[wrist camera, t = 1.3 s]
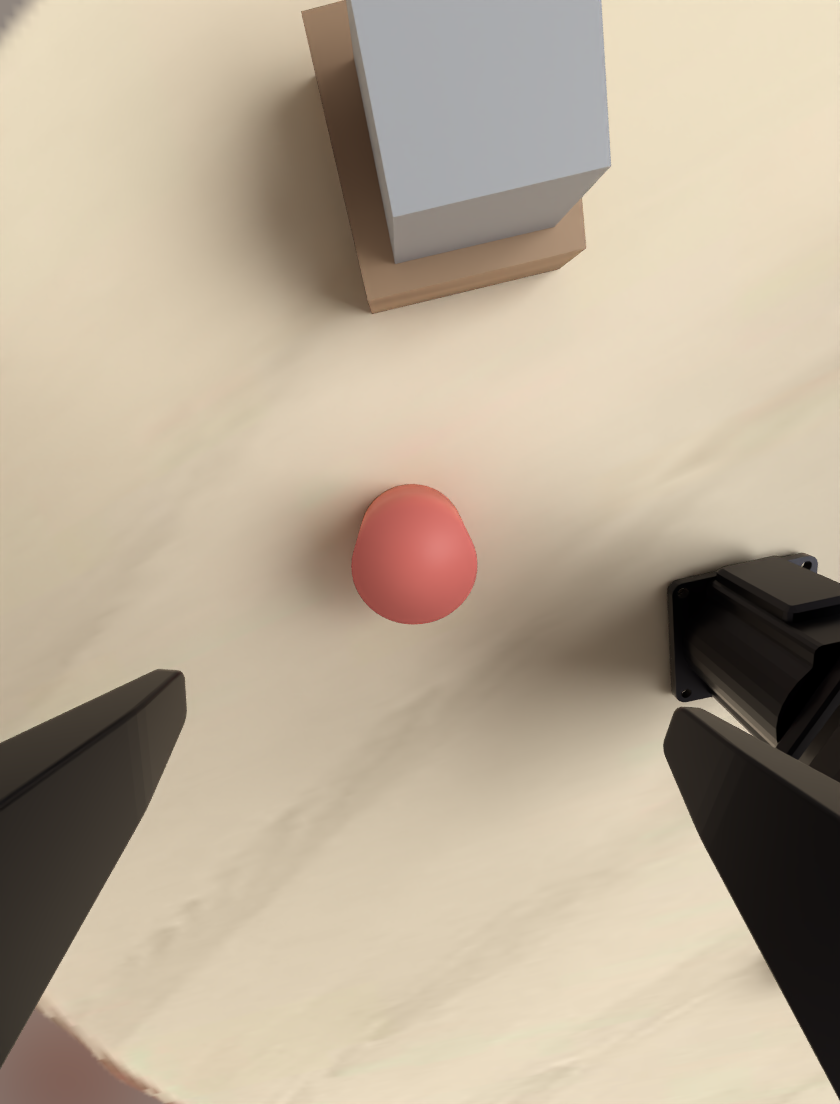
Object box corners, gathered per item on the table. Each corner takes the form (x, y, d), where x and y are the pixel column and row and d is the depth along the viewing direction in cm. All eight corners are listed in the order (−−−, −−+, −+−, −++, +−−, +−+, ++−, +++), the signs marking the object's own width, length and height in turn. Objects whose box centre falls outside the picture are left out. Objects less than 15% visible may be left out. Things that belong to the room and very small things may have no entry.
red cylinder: (470, 569, 20) (487, 609, 17) (375, 590, 21) (369, 635, 17) (451, 473, 19) (464, 493, 15) (348, 497, 19) (336, 522, 15)
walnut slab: (555, 271, 17) (585, 248, 14) (372, 315, 17) (367, 300, 15) (529, 29, 15) (560, -57, 12) (319, 83, 15) (300, 11, 12)
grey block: (554, 226, 14) (611, 165, 10) (394, 263, 14) (393, 217, 10) (533, 13, 12) (591, -152, 9) (353, 57, 13) (334, -86, 9)
